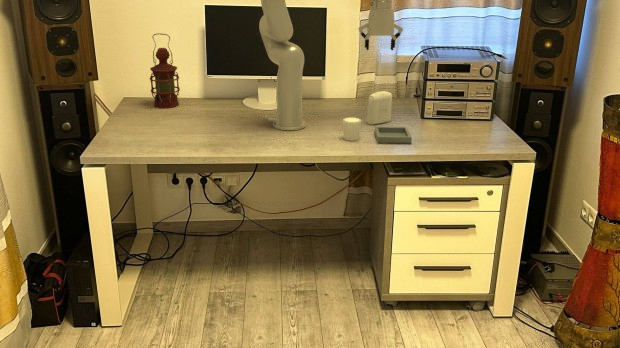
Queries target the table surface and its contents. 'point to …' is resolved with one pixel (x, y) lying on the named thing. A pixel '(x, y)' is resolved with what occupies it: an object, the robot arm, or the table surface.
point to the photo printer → (379, 107)
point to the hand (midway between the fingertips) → (379, 49)
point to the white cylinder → (351, 128)
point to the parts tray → (392, 135)
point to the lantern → (164, 79)
